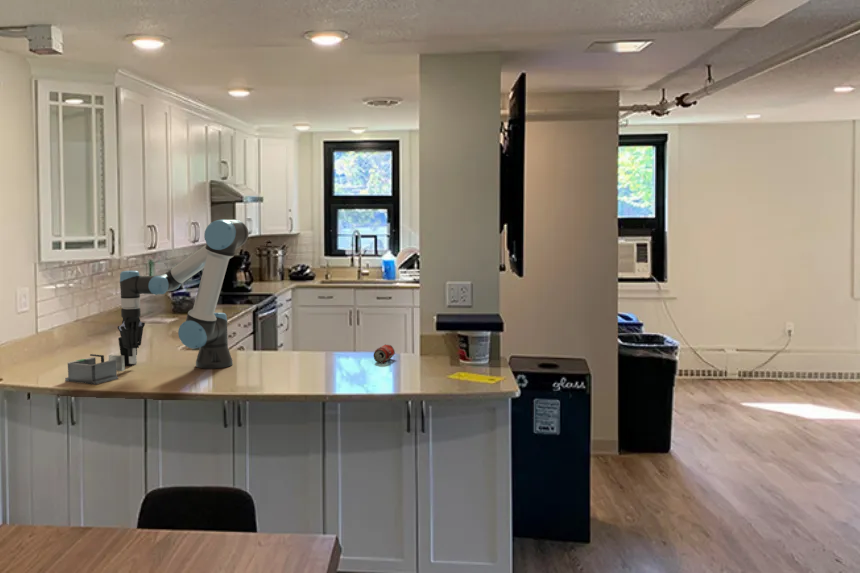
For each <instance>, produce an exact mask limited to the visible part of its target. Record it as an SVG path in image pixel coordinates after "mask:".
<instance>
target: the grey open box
mask: <svg viewBox="0 0 860 573" xmlns="http://www.w3.org/2000/svg"><path fill="white" fill-rule="evenodd" d="M96 359H97V358H96V356H90V357H86V358H81V359H76V360H73V361H68V362H67V375H68V376H67V377H65V379H64V380H65V382H69V383H71V382H72V383H81V384H85V385H86V384H88V385H95V386H96V385H99V384H104V383H106V382H112V381H115V380H118V379H119V376H118V374H117V370H116V360H110V361H109V360H107V361H104V362H101V361H100V362H97V361H96Z"/></svg>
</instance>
